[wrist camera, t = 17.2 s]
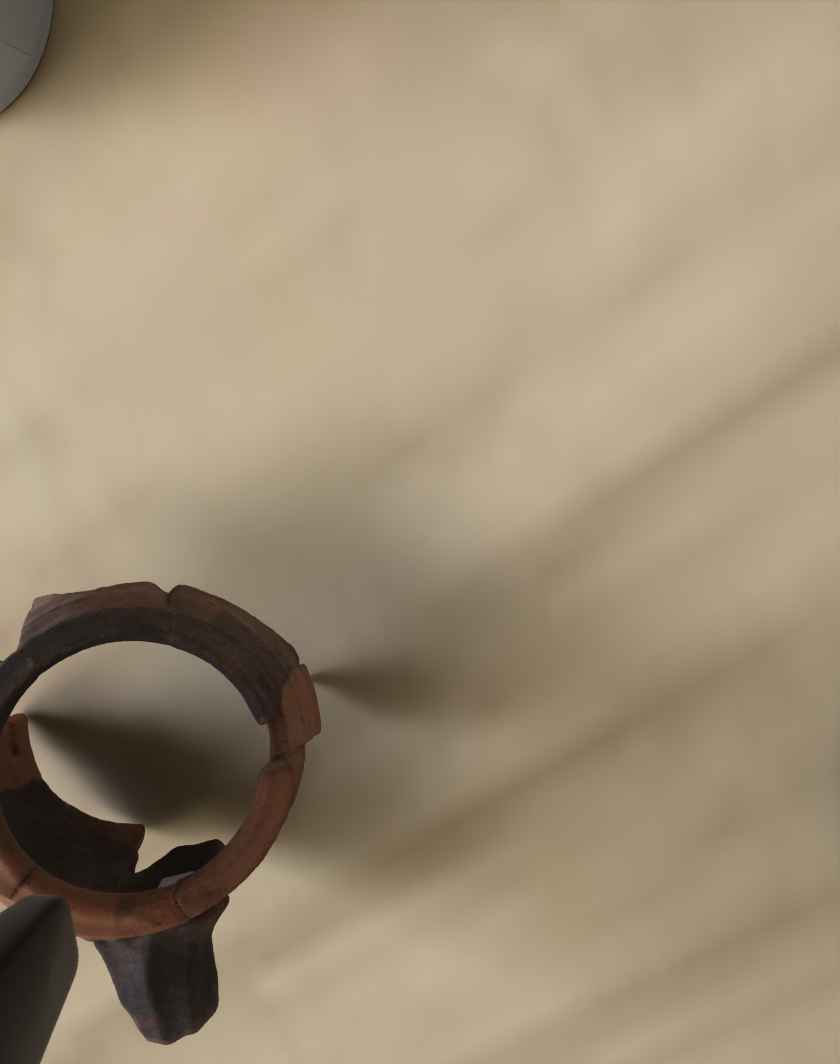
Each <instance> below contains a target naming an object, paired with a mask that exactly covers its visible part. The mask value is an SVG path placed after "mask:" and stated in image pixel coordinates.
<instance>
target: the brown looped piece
mask: <svg viewBox="0 0 840 1064" xmlns="http://www.w3.org/2000/svg"><path fill="white" fill-rule="evenodd" d="M120 641H146V642H153V643H159V644H165V645H170V646H172V647H175V648H177V649H180V650H183V651H186V652H188V653H191V654H193V655H195V656H197V657H199V658H201V659H203V660H204V661H206V662H208V663H210V664H211V665H212V666H214V667H215V668H216V669H217V670H219V671H220V672H221V673H222V674H223V675H224V676H225V677H226V678H227V679H228V680H229V681H230V682H231V683H232V684H233V685H234V686H235V687H236V688H237V690H238V691H239V692H240V693H241V695H242V696H243V698H244V700H245V701H246V703H247V705H248V707H249V709H250V711H251V712H252V714H253V716H254V718H255V720H256V721H257V723H258V724H260V725H264V724H266V723H267V725H268V729H269V733H270V760H269V762H268V763H267V764H266V765H265V766H264V767H263V768H262V770H261V772H260V777H259V781H258V785H257V789H256V793H255V797H254V800H253V802H252V805H251V808H250V810H249V812H248V814H247V816H246V818H245V820H244V822H243V823H242V825H241V826H240V828H239V830H238V831H237V832H236V834H235V835H234V837H233V838H232V839H231V840H230V842H229V843H228V844H227V845H226V846H225V845H224V844H223V843H222V842H221V841H220V840H218V839H213V840H209V841H206V842H203V843H199V844H195V845H184V846H178V847H176V848H174V849H172V850H171V851H170V852H169V853H167V854H166V855H165V856H164V857H162V858H161V859H159V860H158V861H156V862H155V863H153V864H152V865H151V866H149V867H148V868H146V869H144V870H142V871H140V872H137V873H135V867H136V864H137V862H138V856H139V855H138V850H139V848H140V846H141V844H142V842H143V839H144V835H145V826H144V825H143V824H129V823H115V822H111V821H105V820H100V819H98V818H95V817H92V816H90V815H88V814H86V813H84V812H82V811H80V810H78V809H77V808H75V807H73V806H72V805H70V804H68V803H66V802H65V801H63V800H62V799H60V798H59V797H58V796H57V795H56V794H55V793H54V792H53V791H52V790H51V789H50V788H49V786H48V785H47V783H46V782H45V781H44V780H43V779H42V777H41V773H40V771H39V769H38V767H37V764H36V762H35V758H34V755H33V751H32V748H31V745H30V740H29V732H28V720H27V717H26V715H25V714H23V713H19V714H14V715H12V716H10V714H11V712H12V710H13V709H14V707H15V705H16V704H17V702H18V701H19V699H20V698H21V697H22V695H23V694H24V693H25V691H26V690H27V689H28V688H29V687H30V686H31V685H32V684H33V683H34V682H35V680H36V679H37V678H38V676H39V675H40V674H42V673H43V672H45V671H46V670H48V669H49V668H51V667H52V666H54V665H55V664H57V663H58V662H60V661H62V660H63V659H65V658H67V657H69V656H71V655H73V654H76V653H78V652H80V651H82V650H85V649H88V648H91V647H94V646H97V645H101V644H105V643H111V642H120ZM9 716H10V717H9ZM320 731H321V719H320V713H319V707H318V702H317V697H316V693H315V689H314V685H313V682H312V679H311V677H310V674H309V672H308V669H307V667H306V665H305V664H301V665H299V657H298V655H297V653H296V651H295V649H294V648H293V647H292V646H291V645H290V644H289V643H288V642H286V641H285V640H284V639H283V638H282V637H281V636H279V635H278V634H277V633H276V632H275V631H274V630H272V629H271V628H269V627H268V626H266V625H265V624H264V623H262V622H261V621H260V620H258V619H257V618H255V617H254V616H252V615H250V614H249V613H247V612H246V611H245V610H243V609H241V608H239V607H238V606H236V605H234V604H231V603H230V602H228V601H226V600H224V599H222V598H219V597H217V596H215V595H211V594H209V593H207V592H204V591H201V590H199V589H196V588H194V587H190V586H187V585H177V586H175V587H174V588H173V589H172V590H171V591H170V592H169V593H167V592H165V591H163V590H162V589H160V588H159V587H158V586H157V585H156V584H154V583H151V582H134V583H124V584H117V585H113V586H109V587H101V588H98V589H95V590H90V591H83V592H75V593H66V594H51V595H46V596H42V597H38V598H36V599H34V601H33V605H32V609H31V610H30V611H29V612H28V614H27V617H26V619H25V621H24V625H23V627H22V631H21V637H20V642H19V645H18V648H17V650H16V651H15V652H14V653H12V654H11V655H10V656H8V657H7V658H6V659H5V660H4V661H0V902H2V903H3V904H4V905H5V906H7V907H8V908H9V907H10V906H12V905H13V904H15V903H16V902H18V901H19V900H21V899H23V898H24V897H26V896H29V895H34V894H36V895H57V896H62V897H64V898H65V899H66V900H67V901H68V903H69V906H70V910H71V915H72V921H73V926H74V931H75V936H78V937H81V938H82V939H84V940H87V941H91V942H94V945H95V947H96V949H97V950H98V951H99V953H100V954H101V956H102V958H103V960H104V962H105V964H106V966H107V968H108V971H109V973H110V976H111V978H112V981H113V983H114V986H115V988H116V991H117V994H118V997H119V1000H120V1002H121V1004H122V1006H123V1007H124V1008H125V1010H126V1011H127V1012H128V1013H129V1014H130V1016H131V1017H132V1019H133V1020H134V1022H135V1024H136V1026H137V1028H138V1029H139V1031H140V1032H141V1033H142V1034H143V1036H144V1037H145V1038H146V1040H148V1041H150V1042H154V1043H159V1044H163V1045H168V1044H172V1043H174V1042H176V1041H177V1040H179V1039H181V1038H182V1037H184V1036H186V1035H190V1034H194V1033H196V1032H198V1031H199V1030H200V1029H201V1028H202V1027H203V1026H204V1024H205V1023H206V1022H207V1021H208V1020H209V1019H210V1018H211V1017H212V1016H213V1014H214V1013H215V1012H216V1010H217V1007H218V1002H219V997H218V975H217V969H216V965H215V958H214V952H213V943H212V932H213V929H214V926H215V924H216V922H217V921H218V919H219V917H220V916H221V914H222V913H223V912H224V910H225V908H226V907H227V905H228V903H229V896H228V894H229V893H231V892H232V891H233V890H234V889H236V888H237V887H238V886H239V885H240V884H241V883H242V882H243V881H244V880H245V879H246V878H247V877H248V876H249V875H250V874H251V873H252V872H253V871H254V870H255V869H256V867H257V866H258V865H259V864H260V863H261V862H262V861H263V859H264V857H265V856H266V854H267V853H268V851H269V849H270V848H271V846H272V845H273V843H274V841H275V840H276V838H277V836H278V833H279V831H280V829H281V827H282V825H283V824H284V822H285V820H286V818H287V815H288V812H289V810H290V808H291V807H292V805H293V803H294V800H295V797H296V794H297V792H298V788H299V785H300V781H301V776H302V772H303V767H304V760H305V744H306V743H307V742H308V741H309V740H311V739H312V738H313V737H314V736H315V735H317V734H319V733H320Z"/></svg>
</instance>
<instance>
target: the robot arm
mask: <svg viewBox="0 0 840 1064" xmlns="http://www.w3.org/2000/svg"><path fill="white" fill-rule="evenodd" d="M77 966H78V947H77V942H76V936H75V931H74V926H73V921H72V915H71V910H70V906H69V903H68V901H67V900H66V899H65V898H64V897H62V896H57V895H36V894H34V895H29V896H26V897H24V898H23V899H21V900H19V901H18V902H16V903H15V904H13V905H12V906H10V907H9V908H7V909H6V910H4V911H3V912H1V913H0V1064H40V1062H41V1060H42V1057H43V1055H44V1052H45V1050H46V1047H47V1045H48V1042H49V1040H50V1037H51V1035H52V1032H53V1030H54V1027H55V1025H56V1022H57V1020H58V1018H59V1015H60V1013H61V1010H62V1008H63V1005H64V1003H65V1000H66V998H67V995H68V993H69V990H70V988H71V985H72V983H73V980H74V977H75V975H76V971H77Z"/></svg>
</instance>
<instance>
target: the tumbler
mask: <svg viewBox="0 0 840 1064" xmlns="http://www.w3.org/2000/svg"><path fill="white" fill-rule="evenodd" d="M52 13H53V0H0V112H1V111H3V110H4V109H5V108H6V107H7V106H8V105H9V104H10V103H12V102H13V101H14V100H15V99H16V98H17V96H18V95H19V94H20V93H21V92H22V90H23V89H24V88H25V87H26V85H27V84H28V82H29V81H30V79H31V77H32V76H33V74H34V72H35V71H36V69H37V66H38V64H39V62H40V59H41V57H42V55H43V52H44V50H45V46H46V42H47V39H48V35H49V32H50V26H51V19H52Z"/></svg>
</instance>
